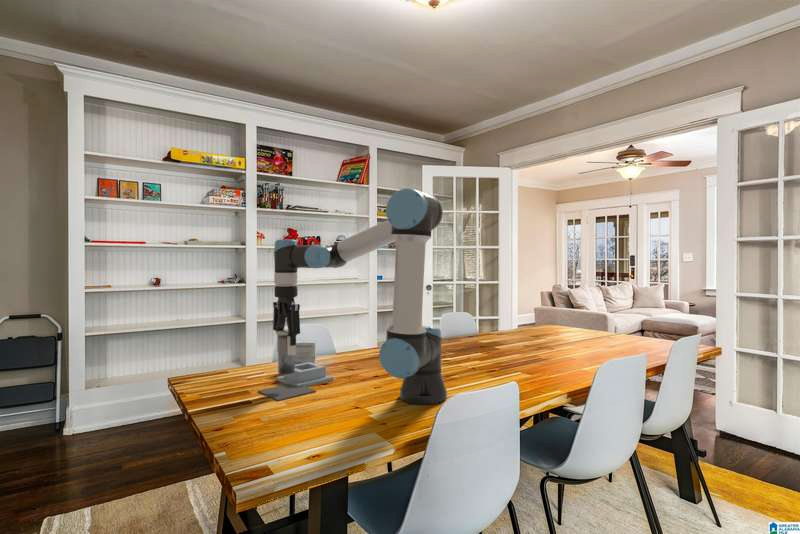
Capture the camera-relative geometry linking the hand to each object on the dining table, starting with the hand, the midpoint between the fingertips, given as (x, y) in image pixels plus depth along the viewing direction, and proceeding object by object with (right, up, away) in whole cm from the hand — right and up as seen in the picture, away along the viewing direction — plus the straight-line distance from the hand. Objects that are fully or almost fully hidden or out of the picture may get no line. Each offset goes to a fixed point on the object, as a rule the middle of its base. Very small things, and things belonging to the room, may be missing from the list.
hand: (286, 353), depth 147 cm
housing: (+3, -13, +14) cm, 19 cm away
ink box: (0, -13, +28) cm, 31 cm away
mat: (0, -13, 0) cm, 13 cm away
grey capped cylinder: (0, -6, 0) cm, 6 cm away
